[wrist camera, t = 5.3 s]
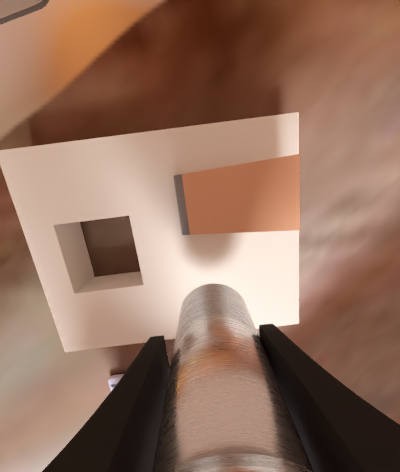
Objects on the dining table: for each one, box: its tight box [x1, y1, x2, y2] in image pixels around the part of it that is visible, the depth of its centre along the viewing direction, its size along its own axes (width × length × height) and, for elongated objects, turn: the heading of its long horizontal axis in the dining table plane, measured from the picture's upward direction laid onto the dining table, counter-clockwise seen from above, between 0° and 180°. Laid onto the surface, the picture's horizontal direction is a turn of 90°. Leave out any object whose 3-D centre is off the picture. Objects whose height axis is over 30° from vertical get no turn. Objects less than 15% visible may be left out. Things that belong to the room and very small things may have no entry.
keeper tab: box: [173, 154, 300, 235], centre depth 11 cm, size 4×8×1 cm, turn 97°
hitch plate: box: [0, 112, 299, 352], centre depth 15 cm, size 16×20×3 cm
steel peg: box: [152, 284, 314, 472], centre depth 7 cm, size 5×5×8 cm
